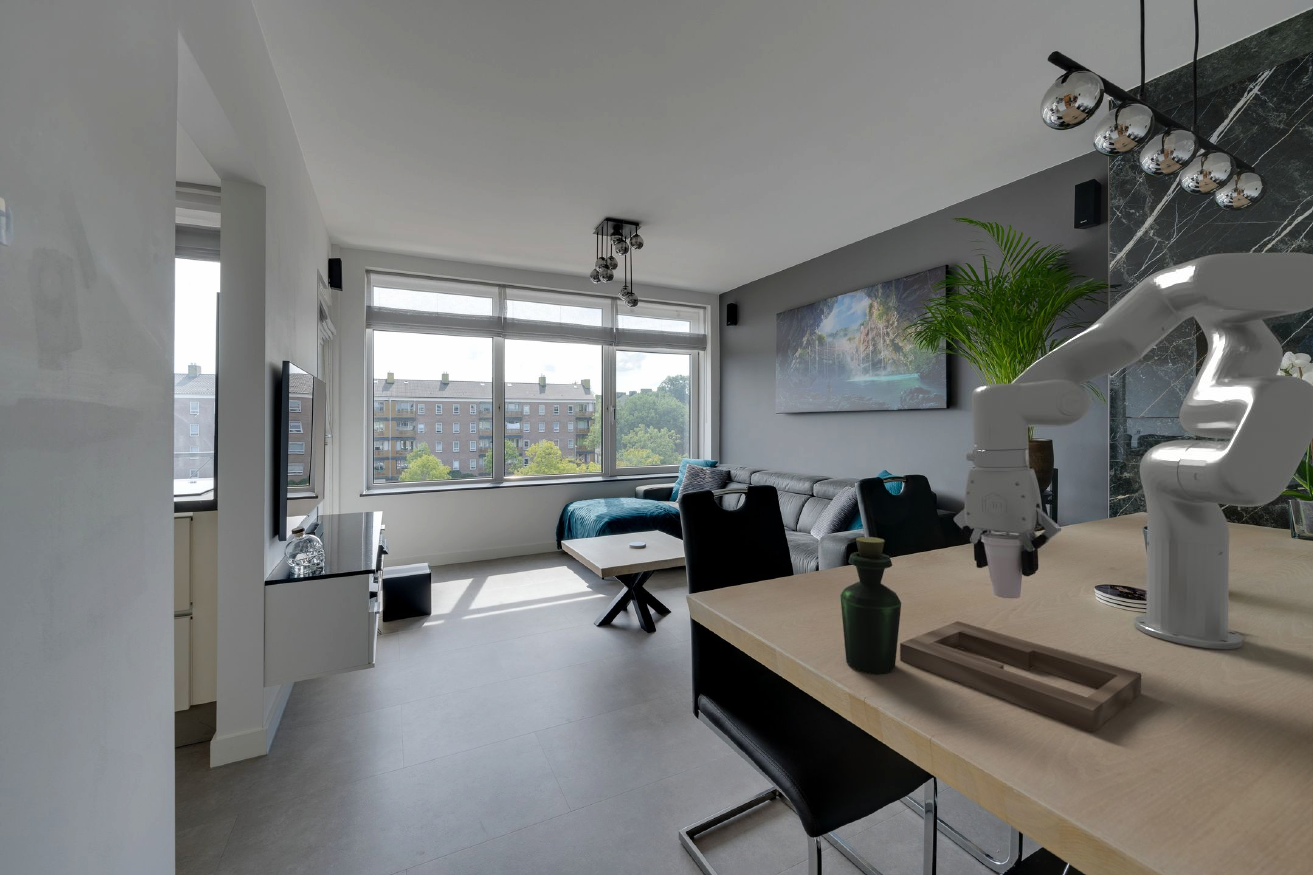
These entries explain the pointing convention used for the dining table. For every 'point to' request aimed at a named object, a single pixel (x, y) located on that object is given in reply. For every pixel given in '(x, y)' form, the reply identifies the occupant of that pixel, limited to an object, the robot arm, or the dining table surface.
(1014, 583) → the smoothie
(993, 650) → the keyhole board
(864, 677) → the dining table surface
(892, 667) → the potion bottle
